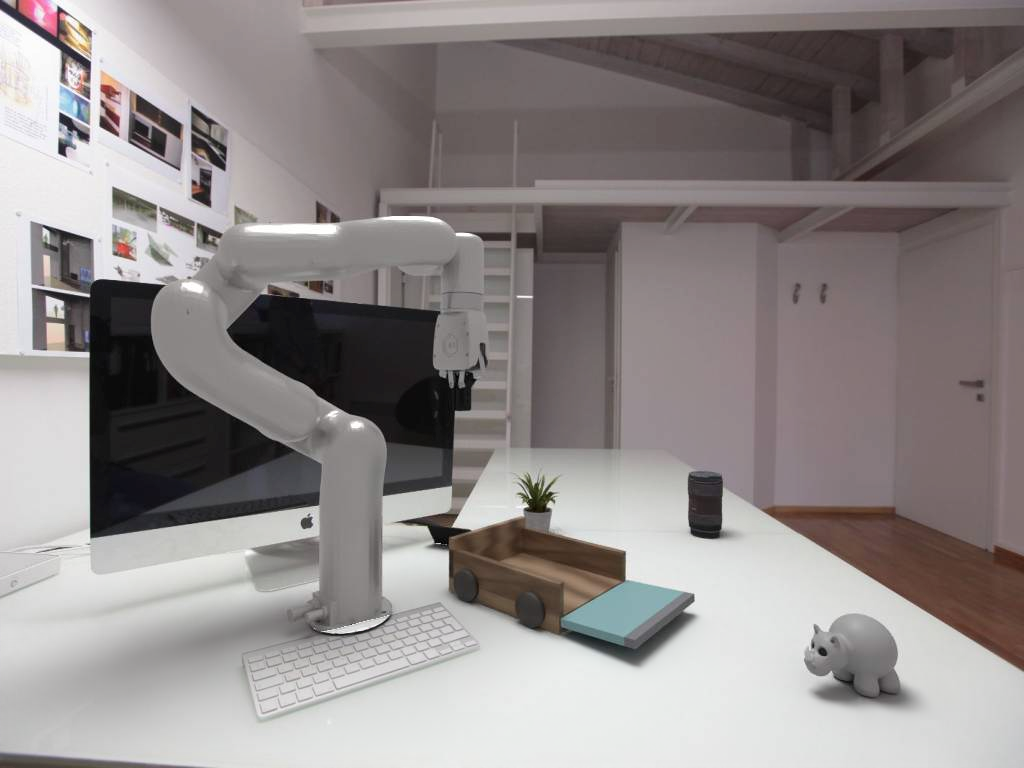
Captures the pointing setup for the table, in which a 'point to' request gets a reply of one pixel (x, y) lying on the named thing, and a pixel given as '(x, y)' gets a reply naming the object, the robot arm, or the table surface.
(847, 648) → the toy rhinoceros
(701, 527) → the camera lens
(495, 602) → the hand cart
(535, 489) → the house plant
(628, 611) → the panel
